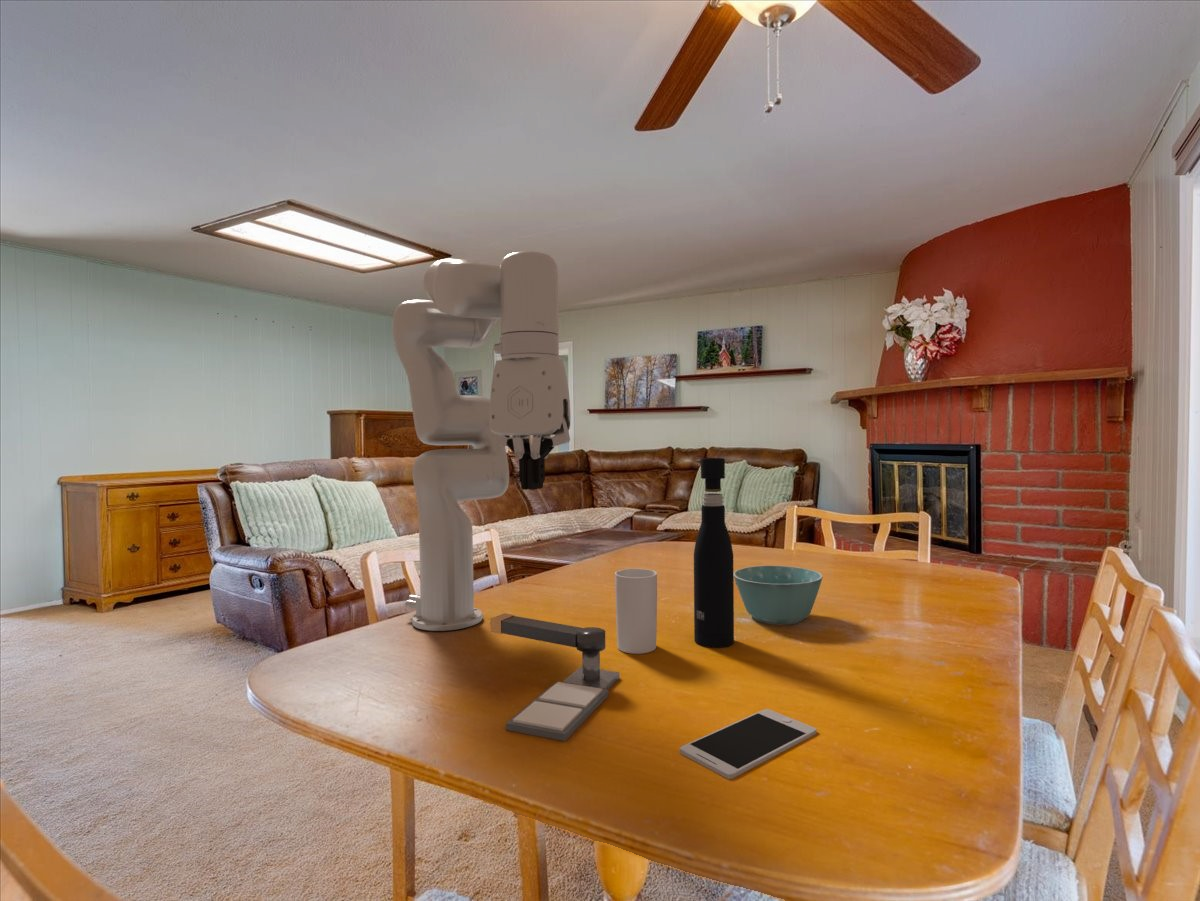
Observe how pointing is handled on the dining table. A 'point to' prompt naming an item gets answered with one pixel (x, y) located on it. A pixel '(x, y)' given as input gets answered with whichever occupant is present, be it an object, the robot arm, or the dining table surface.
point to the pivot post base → (592, 673)
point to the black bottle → (713, 565)
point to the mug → (636, 610)
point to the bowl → (778, 592)
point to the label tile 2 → (574, 696)
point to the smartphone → (747, 742)
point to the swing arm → (550, 632)
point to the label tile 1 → (547, 720)
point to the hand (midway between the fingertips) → (532, 488)
